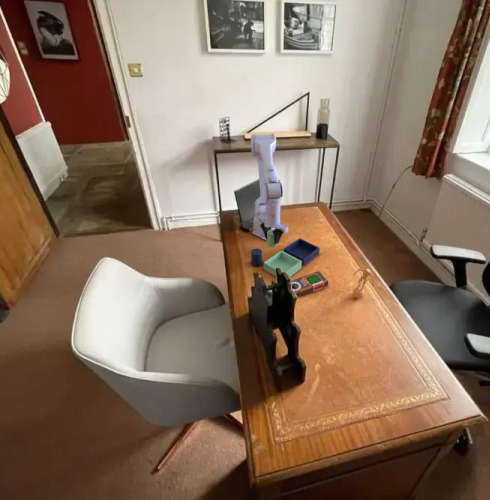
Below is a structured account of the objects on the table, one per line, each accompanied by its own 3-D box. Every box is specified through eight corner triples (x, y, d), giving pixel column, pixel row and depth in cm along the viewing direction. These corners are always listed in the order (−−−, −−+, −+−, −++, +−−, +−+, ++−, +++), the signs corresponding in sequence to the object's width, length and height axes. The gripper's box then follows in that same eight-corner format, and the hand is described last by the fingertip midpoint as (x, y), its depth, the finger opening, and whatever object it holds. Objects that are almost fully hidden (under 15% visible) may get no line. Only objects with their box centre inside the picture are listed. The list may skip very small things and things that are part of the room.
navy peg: (249, 263, 129) (248, 251, 125) (256, 258, 131) (256, 247, 128) (256, 268, 126) (256, 256, 123) (264, 263, 129) (264, 251, 126)
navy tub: (283, 255, 134) (284, 248, 132) (299, 244, 140) (299, 238, 138) (303, 266, 128) (304, 259, 126) (319, 254, 135) (319, 247, 133)
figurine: (344, 293, 116) (349, 268, 109) (353, 286, 119) (359, 261, 112) (364, 305, 111) (370, 280, 104) (373, 297, 115) (380, 272, 108)
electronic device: (285, 282, 116) (319, 269, 122) (285, 288, 118) (319, 275, 123) (293, 294, 112) (329, 280, 117) (293, 299, 113) (328, 286, 119)
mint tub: (263, 269, 126) (263, 262, 124) (281, 257, 133) (281, 250, 131) (284, 281, 120) (284, 274, 118) (301, 268, 127) (301, 261, 125)
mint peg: (264, 244, 132) (264, 232, 128) (271, 239, 134) (272, 227, 131) (272, 248, 129) (273, 236, 126) (279, 243, 132) (280, 231, 129)
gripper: (252, 209, 124) (253, 237, 132) (280, 222, 117) (279, 252, 125) (264, 203, 128) (264, 231, 137) (292, 215, 121) (290, 244, 129)
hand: (272, 240), depth 131 cm, fingers closed on mint peg, 4 cm apart
